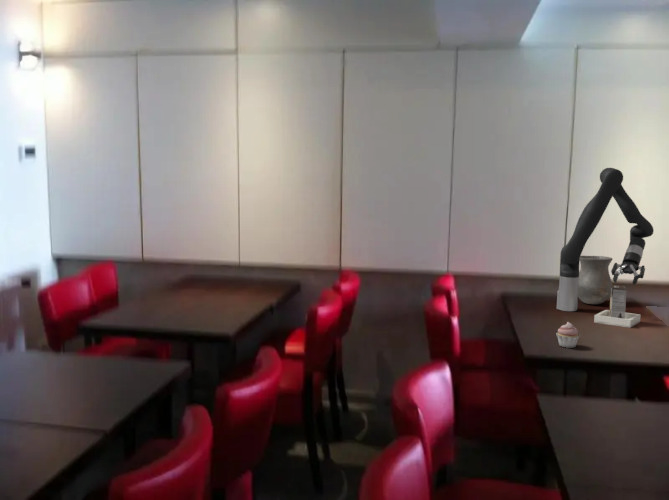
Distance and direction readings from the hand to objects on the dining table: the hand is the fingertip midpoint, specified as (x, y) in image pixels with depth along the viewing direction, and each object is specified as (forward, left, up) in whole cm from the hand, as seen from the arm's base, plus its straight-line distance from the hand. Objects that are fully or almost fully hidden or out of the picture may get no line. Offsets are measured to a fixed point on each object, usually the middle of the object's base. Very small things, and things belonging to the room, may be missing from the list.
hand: (624, 282), depth 315 cm
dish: (0, -7, -18) cm, 19 cm away
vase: (-24, +30, -18) cm, 42 cm away
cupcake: (-2, -65, -18) cm, 68 cm away
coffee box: (0, -7, -17) cm, 19 cm away
